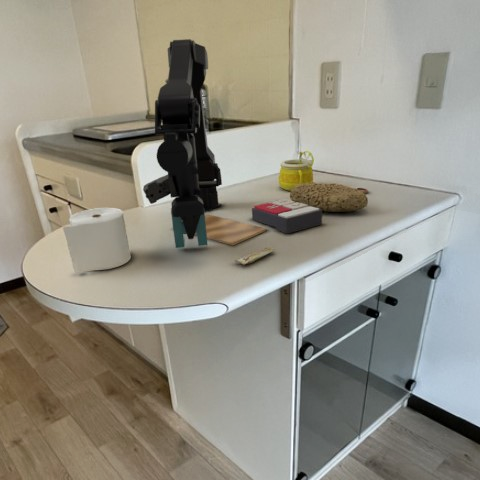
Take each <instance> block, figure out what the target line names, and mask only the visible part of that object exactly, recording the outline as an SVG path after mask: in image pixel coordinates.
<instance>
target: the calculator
mask: <svg viewBox="0 0 480 480" xmlns="http://www.w3.org/2000/svg"><path fill="white" fill-rule="evenodd" d="M251 218H252V220H253V221H255V222H259V223H261V224H264V225H268V226H270V227H273V228H275V229H276V230H277V231H278V232H281V233H284V234H292V233H296V232H299V231H302V230H306V229H309V228H313V227H317V226H320V225H322V223H323V211H322V210H320V209H319V208H315V207H311V206H309V207H308V205H307V204H302V203H298V202H294V201H292V200H291V199H290V200H289V199H285V198H282V199H279V200H274V201H271V202H265V203H261V204H256V205H253V207H252V208H251Z"/></svg>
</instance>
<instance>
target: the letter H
mask: <svg viewBox="0 0 480 480" xmlns="http://www.w3.org/2000/svg"><path fill="white" fill-rule="evenodd" d="M205 212H206V211H204V214H203V215H201V217H200V219H199V222H198V226H197V229H196V232H195V233H197V235H196V238H197V245H198V247H202V246H208V238H207V233H206V222H205V216H206V213H205ZM170 215H171V222H172V228H173V230H172V232H173V238H174V245H175V249H180V248H181V249H182V248H185V247H186V245H185V236H184V235H187V233H186V230H185V227H184V224H183V221H182V219H181V218H180V217H173V215H172V207H171V208H170Z"/></svg>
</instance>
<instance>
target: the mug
mask: <svg viewBox="0 0 480 480" xmlns="http://www.w3.org/2000/svg"><path fill="white" fill-rule="evenodd" d="M306 153H307V154H308V155H307V154H306ZM298 154H299V158H296V159H295V158H294V159H286V160H284V161H282V162H281V163H280V169H279V173H278V185H279V187H280V188H281V189H282V190H285V191H288V192H289V191H290V192H291V189H293V188H294V187H295V185H298V184H302V183H304V184H305V183H309V184H311V182H314V172H313V168H312V167H313V165H314V156H313V154H312V153H311V152H310V151H309V150H305V151H304V150H303V151H299V152H298ZM302 156H304V158H303V157H302ZM310 157H311V159H309V158H310Z"/></svg>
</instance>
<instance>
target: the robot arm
mask: <svg viewBox="0 0 480 480" xmlns="http://www.w3.org/2000/svg"><path fill="white" fill-rule="evenodd" d="M208 56H209V55H208V52H207V49H206V46H204V45H201V44H198V43H196V42H195V40H194V39H191V38H189V39H187V38H186V39H185V38H184V39H173V40H172V41H169V47H168V48H167V59H168V60H167V61H168V75H167V82H166V83H165V84H163V85H162V86H161V87H160V88H159V90H158V93H157V99H156V100H155V101H154V135H155V136H163V141H162V142H161V143H160V144H159V146H158V147H157V150H156V161H157V163H158V165H159V167H160V168H161V169H162V170H163V171H165V172H167V174H165V175H163V176H161V177H158V178H157V179H153V180H152V181H150V182H148V183H146V184H145V185H143V189H142V190H143V192H144V194H145V198H146V199H147V200H148V202H149V204H151V205H154V204H156V203H157V201H159V200H161V199H164V198H166V197H168V196H170V198H173V199H172V201H171V205H170V206H171V208H172V215H173V217H180V218H181V219H182V221H183V224H184V227H185V230H186V233H187V234H186V236H187V239H188V240H193V239H194V238H195V236H196V235H195V232H196V229H197V226H198V222H199V219H200V217H201V215H203V214H204V211H205V212H208V211H211V210H214V209H216V208H220V207H222V206H223V204H222V203H220V202H219V194H218V193H219V192H218V189H217V187H220V186H222V185H223V181H222V174H221V173H222V172H221V168H220V167H219V164H218V163H217V162H216V156H215V154H214V152H213V151H212V150H211V149H210V147H209V146H208V145H209V144H208V137H207V128H206V118H205V110H204V99H203V90H202V89H203V86H204V83H205V81H206V77H207V70H209V57H208ZM172 215H171V216H172Z"/></svg>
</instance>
